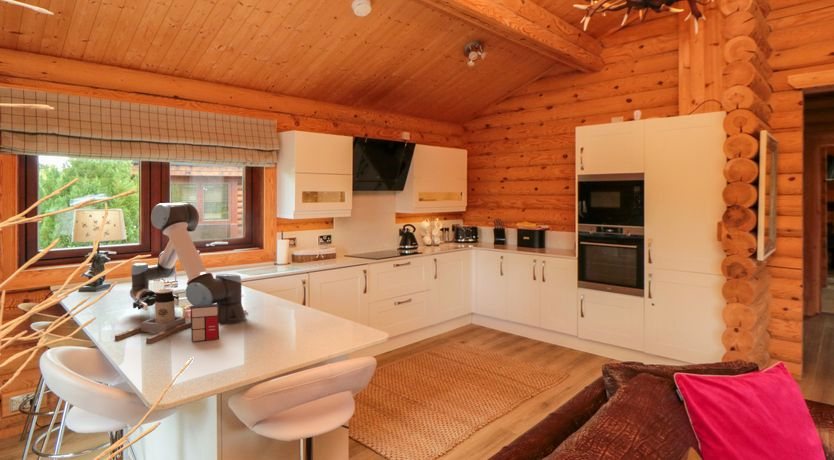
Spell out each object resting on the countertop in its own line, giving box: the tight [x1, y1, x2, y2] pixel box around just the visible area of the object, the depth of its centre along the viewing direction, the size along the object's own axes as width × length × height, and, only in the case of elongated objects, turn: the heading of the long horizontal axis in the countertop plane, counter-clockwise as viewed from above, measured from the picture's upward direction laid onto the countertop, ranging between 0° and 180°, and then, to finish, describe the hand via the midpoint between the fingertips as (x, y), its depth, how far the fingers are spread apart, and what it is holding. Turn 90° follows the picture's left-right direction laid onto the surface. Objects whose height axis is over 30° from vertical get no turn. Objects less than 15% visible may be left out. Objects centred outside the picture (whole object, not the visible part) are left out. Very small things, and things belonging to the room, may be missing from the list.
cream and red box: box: [190, 303, 220, 343], centre depth 214 cm, size 11×4×15 cm, turn 114°
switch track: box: [114, 321, 191, 344], centre depth 223 cm, size 18×26×2 cm
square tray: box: [140, 315, 187, 334], centre depth 228 cm, size 13×13×4 cm
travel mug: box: [154, 288, 176, 324], centre depth 229 cm, size 8×8×18 cm
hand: (162, 305), depth 231 cm, fingers open, 13 cm apart
